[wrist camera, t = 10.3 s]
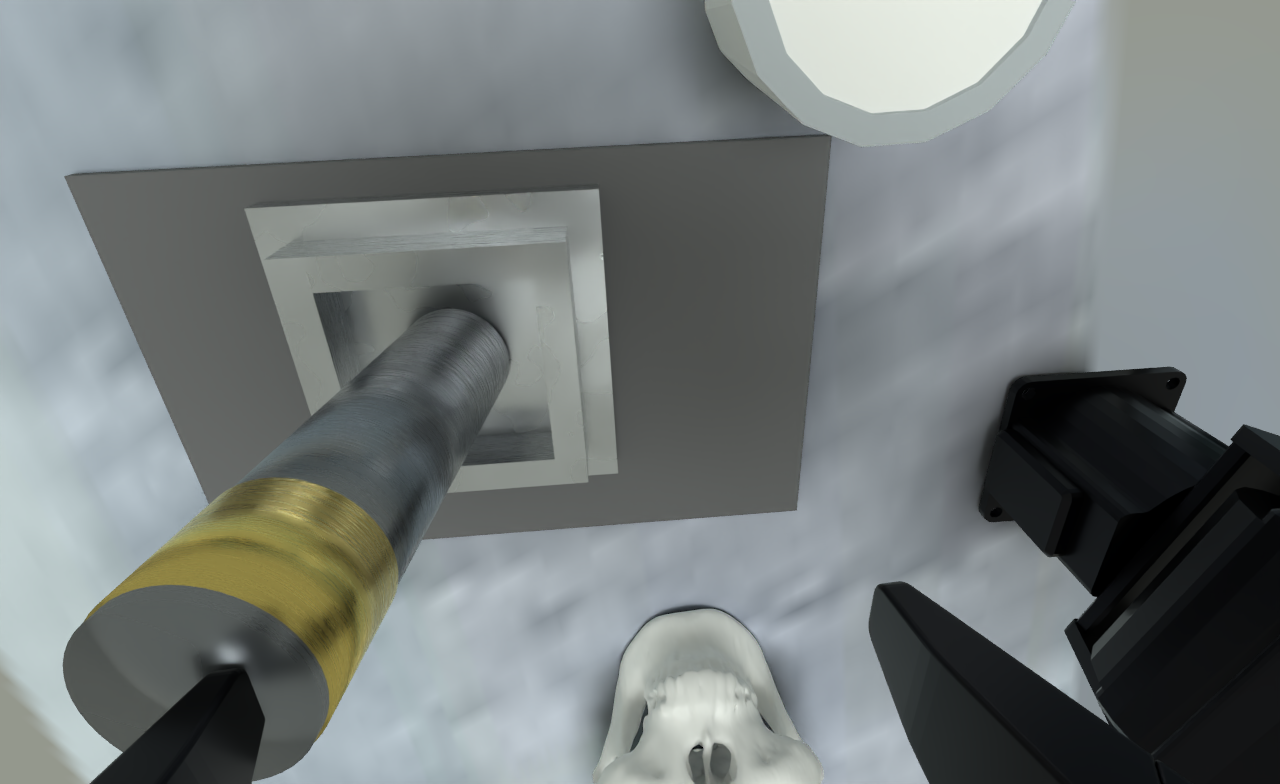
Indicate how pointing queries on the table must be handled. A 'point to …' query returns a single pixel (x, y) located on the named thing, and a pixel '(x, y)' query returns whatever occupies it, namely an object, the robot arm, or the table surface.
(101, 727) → the grey yellow-banded cylinder
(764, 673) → the skull bowl
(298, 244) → the silver square tray
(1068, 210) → the table surface
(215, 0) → the table surface
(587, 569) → the table surface
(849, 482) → the table surface
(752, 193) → the mat
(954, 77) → the white cylinder
